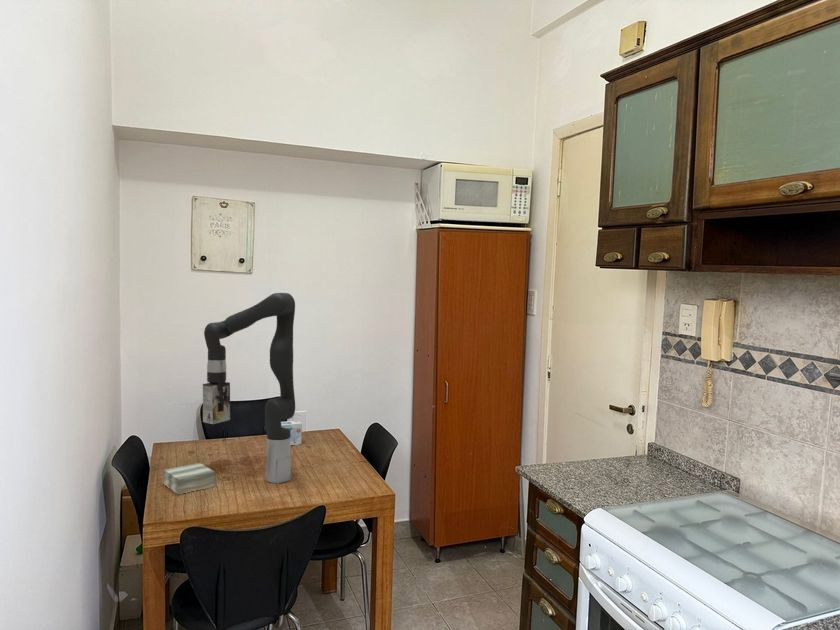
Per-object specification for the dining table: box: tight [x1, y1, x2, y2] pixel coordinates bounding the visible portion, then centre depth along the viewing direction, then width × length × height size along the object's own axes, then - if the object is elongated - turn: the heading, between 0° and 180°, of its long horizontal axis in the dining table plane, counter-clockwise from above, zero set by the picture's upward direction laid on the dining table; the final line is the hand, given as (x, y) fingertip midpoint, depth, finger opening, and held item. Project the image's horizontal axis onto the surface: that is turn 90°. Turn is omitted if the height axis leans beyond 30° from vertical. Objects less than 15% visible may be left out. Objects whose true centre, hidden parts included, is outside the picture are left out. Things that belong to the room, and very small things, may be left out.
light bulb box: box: [281, 419, 303, 447], centre depth 286 cm, size 11×7×11 cm, turn 118°
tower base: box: [163, 462, 216, 495], centre depth 226 cm, size 14×14×6 cm
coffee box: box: [202, 381, 231, 425], centre depth 243 cm, size 9×6×16 cm
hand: (216, 409), depth 243 cm, fingers closed on coffee box, 7 cm apart
